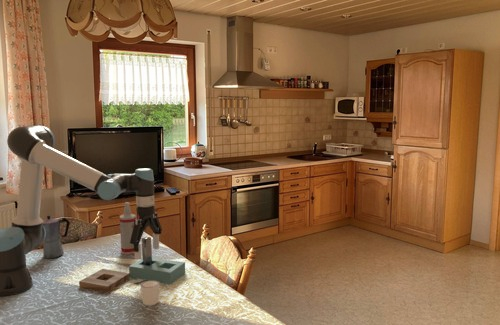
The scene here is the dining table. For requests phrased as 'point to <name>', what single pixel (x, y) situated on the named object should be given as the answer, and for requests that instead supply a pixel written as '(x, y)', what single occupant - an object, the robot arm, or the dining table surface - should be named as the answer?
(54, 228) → the moka pot
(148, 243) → the steel pin
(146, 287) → the shot glass
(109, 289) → the socket block
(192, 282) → the dining table surface
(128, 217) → the white plastic bottle
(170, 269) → the block
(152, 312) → the dining table surface
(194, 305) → the dining table surface
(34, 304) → the dining table surface
